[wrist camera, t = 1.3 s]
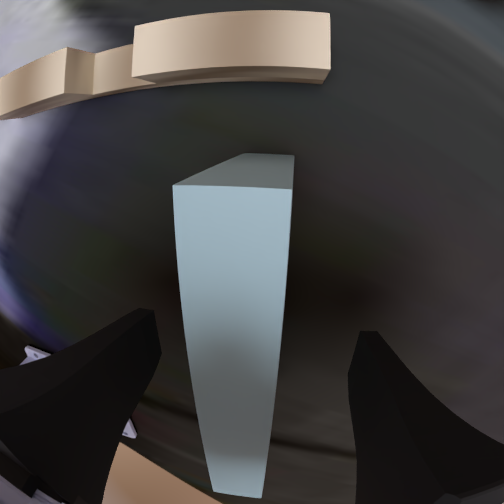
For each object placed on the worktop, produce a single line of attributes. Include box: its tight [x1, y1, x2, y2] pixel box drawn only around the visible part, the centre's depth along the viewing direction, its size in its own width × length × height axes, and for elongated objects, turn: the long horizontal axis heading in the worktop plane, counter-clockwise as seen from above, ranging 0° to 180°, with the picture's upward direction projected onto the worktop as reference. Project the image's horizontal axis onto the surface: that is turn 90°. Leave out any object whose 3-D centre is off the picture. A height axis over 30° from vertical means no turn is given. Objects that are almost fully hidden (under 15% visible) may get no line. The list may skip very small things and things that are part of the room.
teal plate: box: [173, 153, 294, 498], centre depth 11 cm, size 2×12×8 cm, turn 179°
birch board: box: [0, 10, 330, 120], centre depth 10 cm, size 16×2×3 cm, turn 89°
